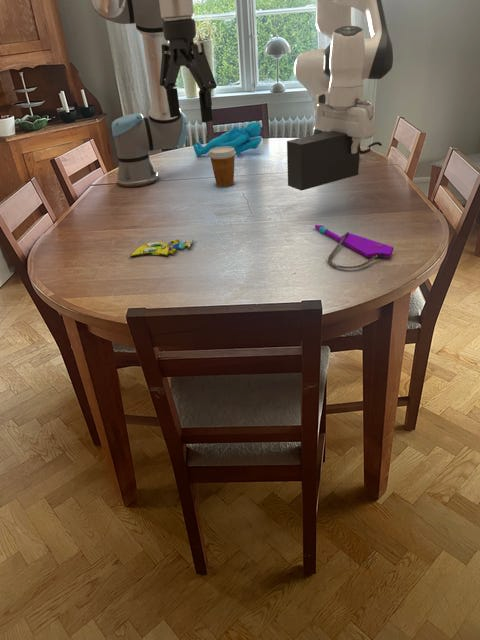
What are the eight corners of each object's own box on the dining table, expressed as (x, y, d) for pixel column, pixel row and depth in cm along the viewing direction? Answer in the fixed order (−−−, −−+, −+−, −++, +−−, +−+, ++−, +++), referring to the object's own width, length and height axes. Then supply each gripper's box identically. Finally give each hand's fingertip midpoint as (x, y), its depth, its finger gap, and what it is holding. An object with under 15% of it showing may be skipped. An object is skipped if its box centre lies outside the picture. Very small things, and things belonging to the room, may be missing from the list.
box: (301, 190, 130) (301, 144, 124) (287, 185, 135) (286, 141, 128) (358, 174, 138) (361, 130, 132) (343, 170, 143) (345, 127, 136)
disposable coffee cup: (207, 187, 170) (203, 152, 164) (218, 179, 178) (215, 145, 171) (232, 188, 167) (229, 153, 161) (242, 180, 174) (239, 146, 168)
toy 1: (185, 253, 123) (129, 254, 125) (186, 256, 123) (130, 257, 125) (193, 237, 131) (141, 238, 133) (194, 240, 132) (141, 241, 134)
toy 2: (199, 135, 215) (262, 115, 205) (207, 159, 220) (269, 140, 210) (187, 145, 201) (254, 124, 191) (196, 170, 206) (262, 151, 196)
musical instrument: (376, 279, 107) (404, 235, 119) (376, 271, 106) (404, 227, 118) (282, 266, 120) (316, 227, 132) (281, 259, 119) (315, 220, 131)
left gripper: (226, 14, 102) (234, 120, 114) (162, 20, 119) (175, 112, 130) (197, 17, 98) (209, 126, 110) (135, 22, 115) (151, 117, 126)
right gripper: (382, 99, 122) (378, 154, 129) (330, 92, 137) (329, 143, 144) (364, 102, 119) (360, 159, 127) (312, 96, 134) (312, 147, 142)
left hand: (190, 119), depth 120 cm, fingers open, 13 cm apart
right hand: (343, 150), depth 136 cm, fingers closed on box, 6 cm apart
